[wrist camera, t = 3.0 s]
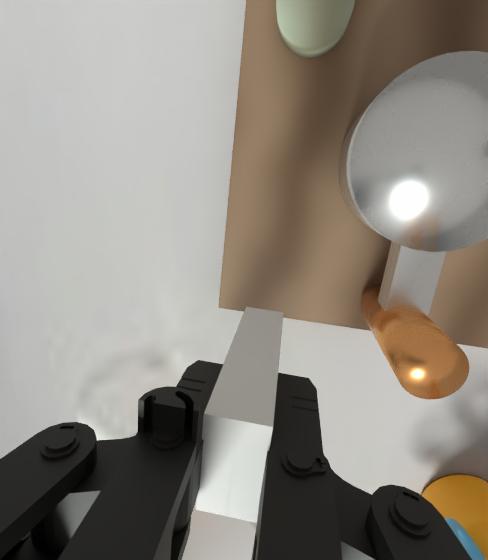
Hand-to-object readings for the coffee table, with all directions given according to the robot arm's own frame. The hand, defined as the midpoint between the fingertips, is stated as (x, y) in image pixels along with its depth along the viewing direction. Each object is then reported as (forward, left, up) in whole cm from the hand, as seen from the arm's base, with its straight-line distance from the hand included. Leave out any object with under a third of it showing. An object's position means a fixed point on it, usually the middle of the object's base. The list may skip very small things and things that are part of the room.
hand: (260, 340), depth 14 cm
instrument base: (+7, +8, -10) cm, 14 cm away
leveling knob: (+7, +5, -8) cm, 11 cm away
